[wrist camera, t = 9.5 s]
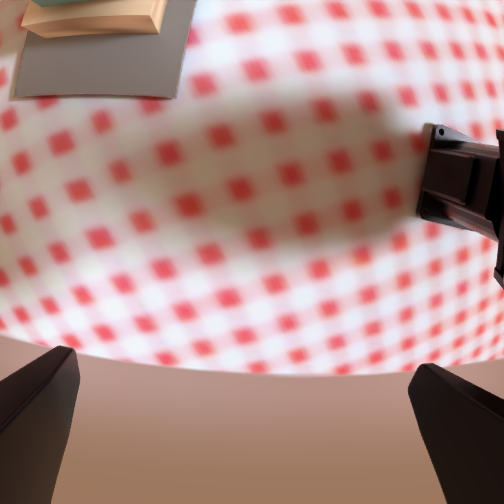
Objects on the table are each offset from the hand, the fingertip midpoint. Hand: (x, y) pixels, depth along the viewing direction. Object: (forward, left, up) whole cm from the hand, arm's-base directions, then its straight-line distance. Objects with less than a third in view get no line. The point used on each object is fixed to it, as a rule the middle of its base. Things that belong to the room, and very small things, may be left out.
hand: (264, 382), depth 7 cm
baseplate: (+9, -14, -12) cm, 20 cm away
